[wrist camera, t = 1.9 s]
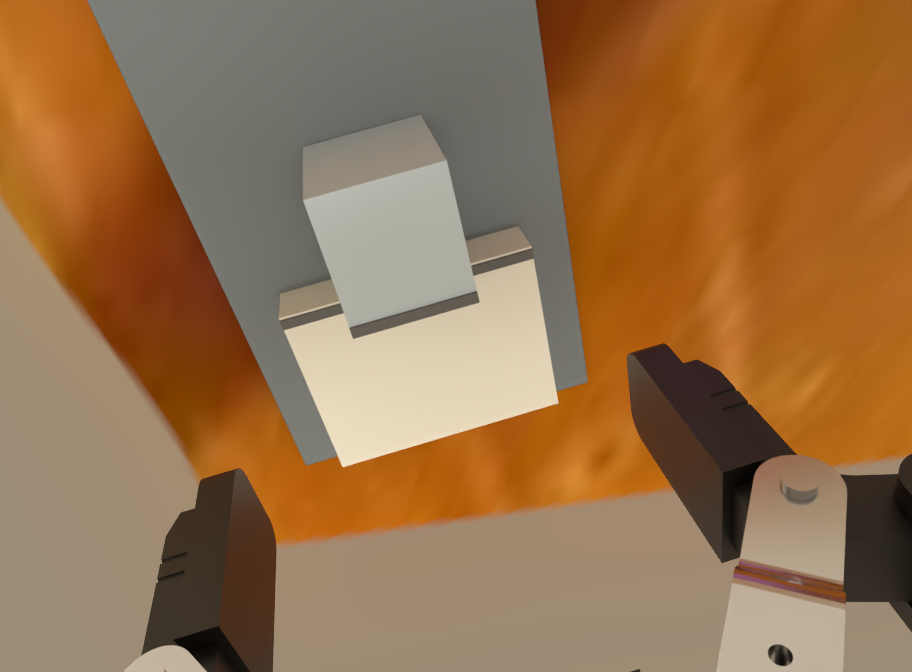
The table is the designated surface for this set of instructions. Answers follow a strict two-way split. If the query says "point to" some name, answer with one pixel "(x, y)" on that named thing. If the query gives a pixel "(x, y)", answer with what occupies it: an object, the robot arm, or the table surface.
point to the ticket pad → (289, 227)
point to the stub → (388, 225)
